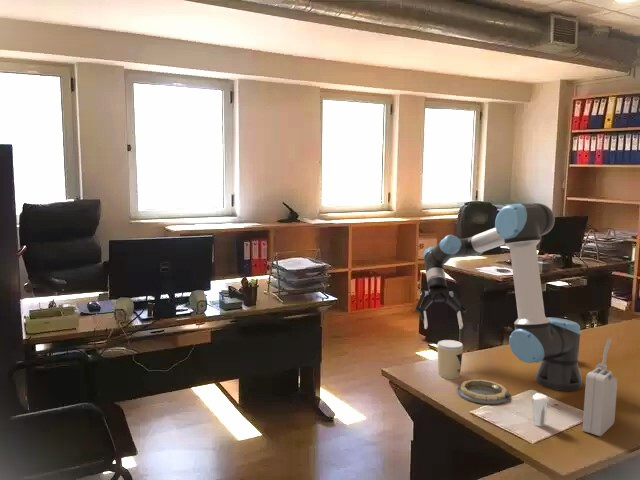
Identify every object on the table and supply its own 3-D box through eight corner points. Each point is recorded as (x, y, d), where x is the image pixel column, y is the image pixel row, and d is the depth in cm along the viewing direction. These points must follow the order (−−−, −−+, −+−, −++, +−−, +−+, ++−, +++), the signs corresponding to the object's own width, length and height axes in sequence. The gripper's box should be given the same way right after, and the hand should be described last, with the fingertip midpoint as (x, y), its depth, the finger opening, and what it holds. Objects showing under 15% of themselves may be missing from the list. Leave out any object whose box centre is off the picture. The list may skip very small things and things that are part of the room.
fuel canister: (599, 415, 169) (605, 336, 166) (617, 420, 166) (623, 340, 163) (581, 431, 158) (587, 347, 155) (599, 437, 155) (606, 352, 152)
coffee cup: (462, 380, 197) (464, 348, 195) (436, 378, 198) (437, 346, 197) (461, 371, 206) (462, 340, 204) (436, 369, 208) (437, 338, 206)
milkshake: (525, 421, 165) (527, 389, 164) (542, 420, 165) (544, 388, 164) (532, 428, 160) (534, 395, 159) (550, 427, 161) (552, 395, 159)
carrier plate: (512, 389, 189) (512, 383, 188) (506, 408, 173) (507, 401, 173) (462, 381, 196) (462, 375, 195) (452, 399, 180) (453, 392, 180)
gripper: (464, 286, 227) (473, 332, 214) (404, 286, 227) (410, 331, 214) (469, 276, 221) (478, 322, 208) (407, 276, 221) (412, 322, 208)
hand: (443, 327), depth 211 cm, fingers open, 13 cm apart
